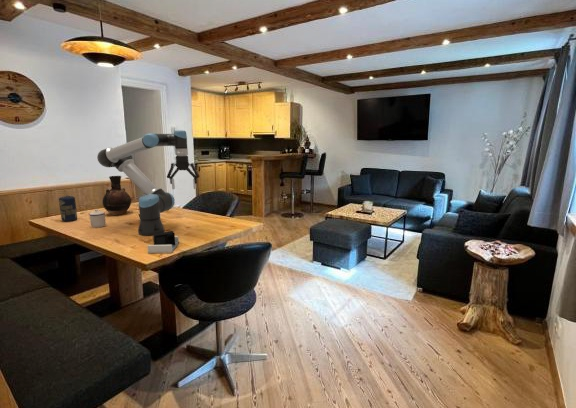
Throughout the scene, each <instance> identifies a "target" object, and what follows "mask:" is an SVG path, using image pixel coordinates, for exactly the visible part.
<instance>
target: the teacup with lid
mask: <svg viewBox="0 0 576 408" xmlns="http://www.w3.org/2000/svg"><path fill="white" fill-rule="evenodd" d="M88 216H89V220H90V227H91V228H93V229H94V228H95V229H96V228H103V227H105V226H107V223H106V212H105V211H101V210H99V209H98V208H96V209H94V210H93V211H91V212H89V214H88Z"/></svg>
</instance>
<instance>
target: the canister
mask: <svg viewBox="0 0 576 408" xmlns="http://www.w3.org/2000/svg"><path fill="white" fill-rule="evenodd" d="M58 204H59V210H60V218H61V221H62V222H72V221H76V220H77V219H78V212H77V206H76V205H77V203H76V197H75V196H71V195H65V196H60V197H59V198H58Z"/></svg>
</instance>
